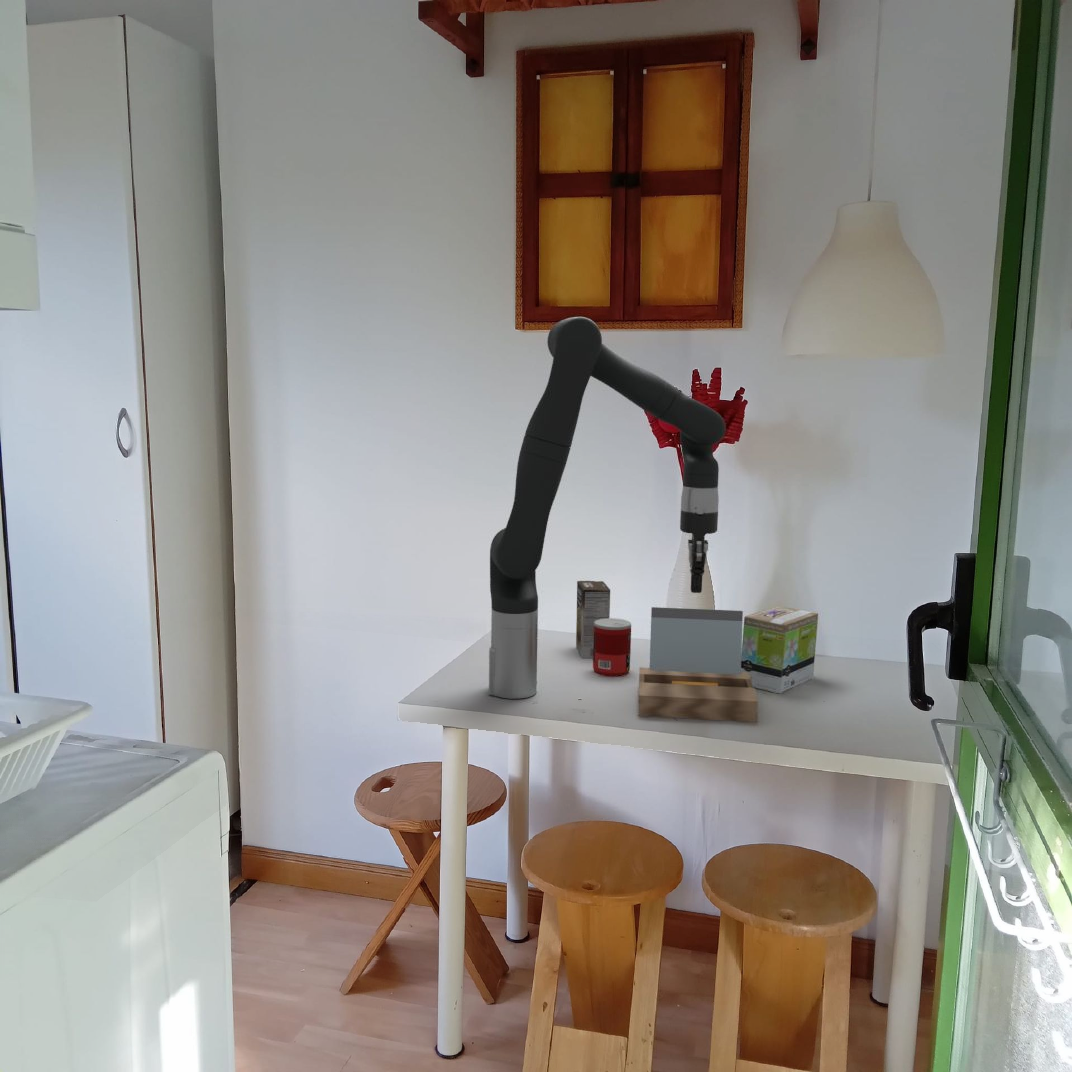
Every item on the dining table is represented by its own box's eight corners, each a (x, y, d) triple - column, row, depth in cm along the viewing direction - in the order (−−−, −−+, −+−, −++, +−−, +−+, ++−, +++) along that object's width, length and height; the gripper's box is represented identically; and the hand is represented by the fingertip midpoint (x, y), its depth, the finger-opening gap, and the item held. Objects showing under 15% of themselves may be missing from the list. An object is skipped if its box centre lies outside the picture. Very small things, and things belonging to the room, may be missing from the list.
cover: (651, 607, 196) (651, 607, 196) (649, 670, 195) (649, 669, 196) (742, 611, 194) (742, 610, 194) (740, 674, 193) (740, 674, 194)
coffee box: (574, 647, 229) (576, 580, 226) (601, 647, 230) (603, 580, 227) (580, 658, 220) (582, 588, 217) (608, 658, 221) (611, 588, 218)
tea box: (782, 695, 197) (786, 624, 195) (738, 684, 203) (741, 615, 201) (814, 678, 208) (819, 611, 206) (772, 669, 215) (775, 603, 212)
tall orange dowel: (671, 699, 193) (672, 686, 192) (671, 690, 196) (671, 678, 195) (717, 701, 192) (718, 688, 191) (716, 693, 195) (717, 680, 194)
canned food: (634, 676, 208) (636, 626, 206) (598, 678, 206) (600, 627, 204) (623, 665, 215) (624, 617, 213) (588, 667, 213) (589, 618, 212)
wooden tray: (638, 715, 183) (638, 695, 183) (638, 686, 201) (639, 667, 200) (757, 722, 181) (758, 701, 180) (747, 691, 199) (748, 672, 198)
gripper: (679, 503, 205) (676, 584, 207) (681, 512, 192) (678, 598, 194) (716, 504, 204) (712, 586, 207) (720, 513, 191) (716, 600, 194)
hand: (696, 592), depth 201 cm, fingers closed
